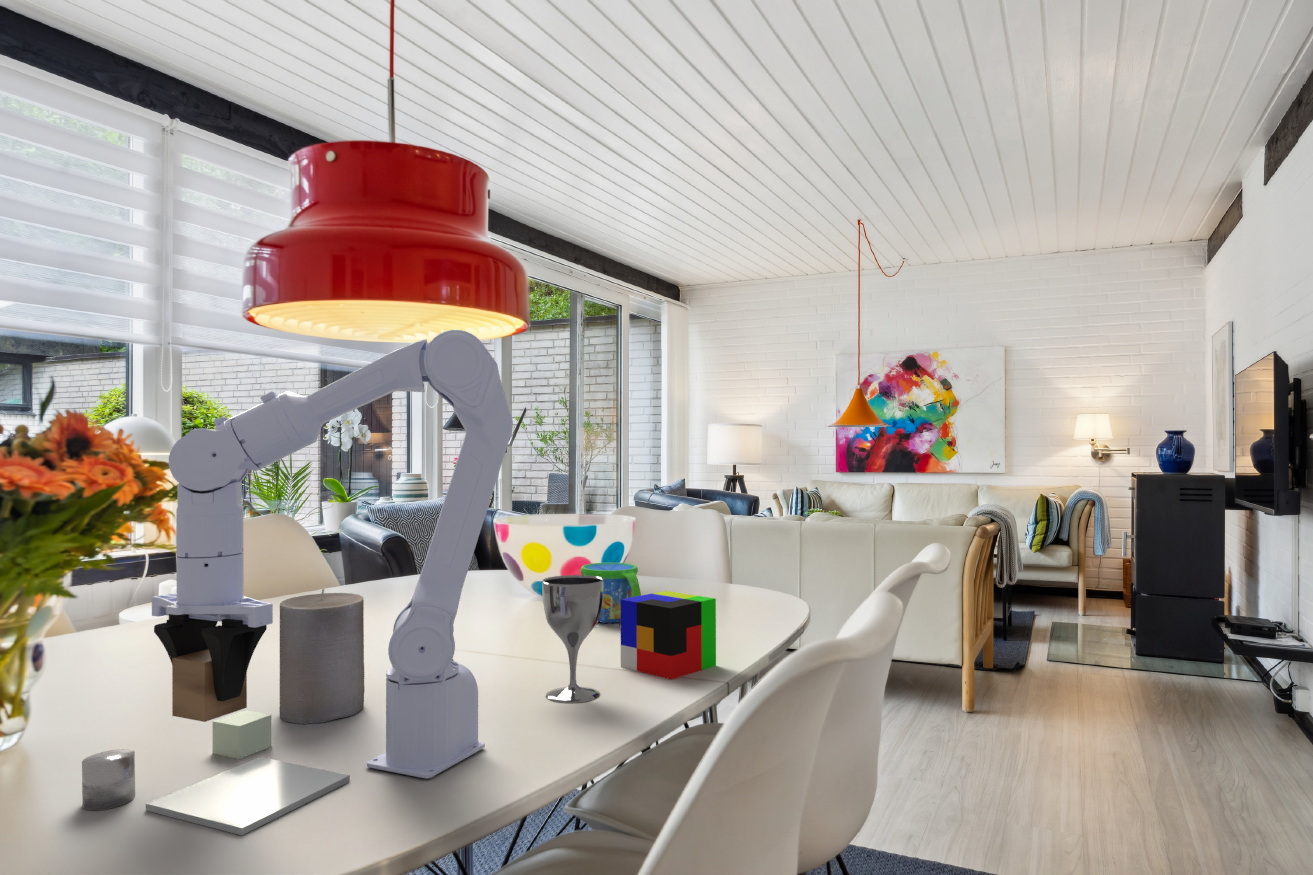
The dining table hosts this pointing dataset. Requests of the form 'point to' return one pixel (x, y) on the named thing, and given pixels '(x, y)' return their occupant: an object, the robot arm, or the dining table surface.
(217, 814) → the slate tile
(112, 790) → the grey cylinder
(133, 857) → the dining table surface
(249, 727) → the sage box
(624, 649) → the puzzle toy
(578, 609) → the wine glass
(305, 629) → the pillar candle
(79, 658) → the dining table surface
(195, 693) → the walnut block
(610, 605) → the snack cup
